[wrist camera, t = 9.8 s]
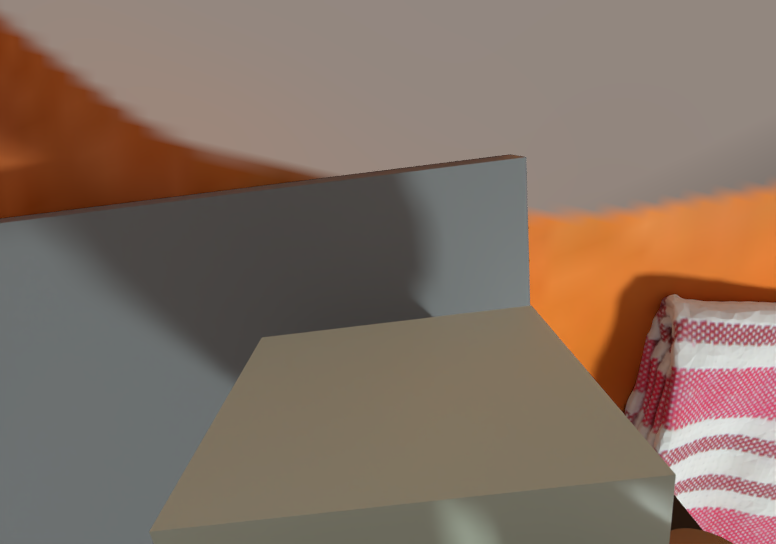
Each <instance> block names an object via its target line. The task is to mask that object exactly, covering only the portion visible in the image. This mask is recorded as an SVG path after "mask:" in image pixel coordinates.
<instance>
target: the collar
mask: <svg viewBox="0 0 776 544" xmlns="http://www.w3.org/2000/svg"><path fill="white" fill-rule="evenodd" d="M675 478H676V474H675V473H674V472H673V471H672V469H671V468H670V467H669V466H668V465H667V464H666V462H665V461H664V460H663V459H662V458H661V457H660V455H659V454H658V453H657V452H656V451H655V450H654V448H653V447H652V446H651V445H650V444H649V443H648V441H647V440H646V439H645V438H644V437H643V436H642V434H641V433H640V432H639V431H638V430H637V429H636V427H635V426H634V425H633V424H632V423H631V422H630V420H629V419H628V418H627V417H626V416H625V415H624V413H623V412H622V411H621V410H620V409H619V408H618V406H617V405H616V404H615V403H614V402H613V400H612V399H611V398H610V397H609V396H608V395H607V393H606V392H605V391H604V390H603V389H602V388H601V386H600V385H599V384H598V383H597V382H596V381H595V379H594V378H593V377H592V376H591V375H590V374H589V372H588V371H587V370H586V369H585V368H584V367H583V365H582V364H581V363H580V362H579V361H578V360H577V358H576V357H575V356H574V355H573V354H572V353H571V351H570V350H569V349H568V348H567V347H566V346H565V344H564V343H563V342H562V341H561V340H560V339H559V337H558V336H557V335H556V334H555V333H554V331H553V330H552V329H551V328H550V327H549V326H548V324H547V323H546V322H545V321H544V320H543V319H542V317H541V316H540V315H539V314H538V313H537V312H536V310H535V309H534V308H533V307H532V306H522V307H514V308H506V309H497V310H489V311H480V312H472V313H464V314H455V315H447V316H438V317H430V318H421V319H413V320H405V321H396V322H388V323H379V324H371V325H363V326H354V327H346V328H337V329H329V330H321V331H312V332H304V333H295V334H287V335H279V336H270V337H262V338H261V340H260V341H259V343H258V345H257V346H256V348H255V350H254V352H253V353H252V355H251V357H250V359H249V360H248V362H247V364H246V365H245V367H244V369H243V371H242V372H241V374H240V376H239V378H238V379H237V381H236V383H235V384H234V386H233V388H232V390H231V391H230V393H229V395H228V396H227V398H226V400H225V402H224V403H223V405H222V407H221V409H220V410H219V412H218V414H217V415H216V417H215V419H214V421H213V422H212V424H211V426H210V428H209V429H208V431H207V433H206V434H205V436H204V438H203V440H202V441H201V443H200V445H199V447H198V448H197V450H196V452H195V453H194V455H193V457H192V459H191V460H190V462H189V464H188V466H187V467H186V469H185V471H184V472H183V474H182V476H181V478H180V479H179V481H178V483H177V484H176V486H175V488H174V490H173V491H172V493H171V495H170V497H169V498H168V500H167V502H166V503H165V505H164V507H163V509H162V510H161V512H160V514H159V516H158V517H157V519H156V521H155V522H154V524H153V526H152V528H151V529H150V531H149V533H150V535H151V538H152V541H153V543H154V544H669V541H670V531H671V520H672V510H673V499H674V488H675Z"/></svg>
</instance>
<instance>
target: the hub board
mask: <svg viewBox="0 0 776 544" xmlns="http://www.w3.org/2000/svg"><path fill="white" fill-rule="evenodd" d="M526 170H527V168H526V157H523V156H516V155H502V156H495V157H487V158H479V159H472V160H463V161H455V162H447V163H439V164H432V165H423V166H416V167H407V168H399V169H391V170H384V171H375V172H367V173H359V174H351V175H343V176H335V177H327V178H319V179H312V180H304V181H296V182H288V183H280V184H272V185H264V186H256V187H248V188H240V189H232V190H224V191H216V192H208V193H200V194H192V195H184V196H176V197H168V198H160V199H152V200H144V201H137V202H129V203H121V204H113V205H105V206H97V207H89V208H81V209H73V210H65V211H57V212H49V213H41V214H33V215H25V216H17V217H9V218H1V219H0V544H154V543H153V541H152V538H151V535H150V533H149V531H150V529H151V528H152V526H153V524H154V522H155V521H156V519H157V517H158V516H159V514H160V512H161V510H162V509H163V507H164V505H165V503H166V502H167V500H168V498H169V497H170V495H171V493H172V491H173V490H174V488H175V486H176V484H177V483H178V481H179V479H180V478H181V476H182V474H183V472H184V471H185V469H186V467H187V466H188V464H189V462H190V460H191V459H192V457H193V455H194V453H195V452H196V450H197V448H198V447H199V445H200V443H201V441H202V440H203V438H204V436H205V434H206V433H207V431H208V429H209V428H210V426H211V424H212V422H213V421H214V419H215V417H216V415H217V414H218V412H219V410H220V409H221V407H222V405H223V403H224V402H225V400H226V398H227V396H228V395H229V393H230V391H231V390H232V388H233V386H234V384H235V383H236V381H237V379H238V378H239V376H240V374H241V372H242V371H243V369H244V367H245V365H246V364H247V362H248V360H249V359H250V357H251V355H252V353H253V352H254V350H255V348H256V346H257V345H258V343H259V341H260V340H261V338H262V337H270V336H279V335H287V334H295V333H304V332H312V331H321V330H329V329H337V328H346V327H354V326H363V325H371V324H379V323H388V322H396V321H405V320H413V319H421V318H430V317H438V316H447V315H455V314H464V313H472V312H480V311H489V310H497V309H506V308H514V307H522V306H530V286H529V246H528V207H527V171H526Z"/></svg>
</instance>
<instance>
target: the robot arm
mask: <svg viewBox="0 0 776 544" xmlns="http://www.w3.org/2000/svg"><path fill="white" fill-rule="evenodd" d="M669 544H733V543H732V542H730V541H728V540H726V539H724V538H722V537H720V536H718V535H715V534H713V533H710V532H706V531H703V530H702V528H701V527H700V526H699V525H698V524H697V522H696V521H695V520H694V519H693V517H692V516H691V515H690V514H689V512H688V511H687V510H686V509H685V507H684V506H683V505H682V504H681V502H680V501H679V500H678V499H677V497H676V496H675V495H674V499H673V510H672V520H671V531H670V541H669Z"/></svg>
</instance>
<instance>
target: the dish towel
mask: <svg viewBox="0 0 776 544" xmlns="http://www.w3.org/2000/svg"><path fill="white" fill-rule="evenodd" d="M624 415H625V416H626V417H627V418H628V419H629V420H630V422H631V423H632V424H633V425H634V426H635V427H636V429H637V430H638V431H639V432H640V433H641V434H642V436H643V437H644V438H645V439H646V440H647V441H648V443H649V444H650V445H651V446H652V447H653V448H654V450H655V451H656V452H657V453H658V454H659V455H660V457H661V458H662V459H663V460H664V461H665V462H666V464H667V465H668V466H669V467H670V468H671V469H672V471H673V472H674V473H675V474H676V478H675V488H674V495H675V496H676V497H677V499H678V500H679V501H680V502H681V504H682V505H683V506H684V507H685V509H686V510H687V511H688V512H689V514H690V515H691V516H692V517H693V519H694V520H695V521H696V522H697V524H698V525H699V526H700V527H701V528H702V530H703V531H706V532H710V533H713V534H715V535H718V536H720V537H722V538H724V539H726V540H728V541H730V542H732V543H733V544H776V302H773V303H771V302H753V301H744V302H736V301H725V302H719V301H701V300H694V299H683V298H681V297H679V296H678V295H676V294H673V295H669V296H667V297H665V298H664V299H662V301H661V305H660V309H659V310H658V312H657V313H656V315H655V317H654V319H653V322H652V327H651V330H650V331H649V333H648V334H647V336H646V342H645V346H644V351H643V355H642V359H641V363H640V367H639V372H638V376H637V380H636V385H635V387H634V389H633V391H632V393H631V394H630V396H629V398H628V401H627V404H626V408H625V414H624Z"/></svg>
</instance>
